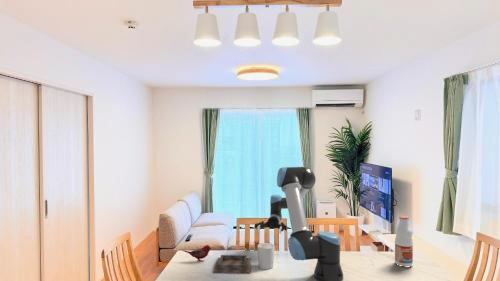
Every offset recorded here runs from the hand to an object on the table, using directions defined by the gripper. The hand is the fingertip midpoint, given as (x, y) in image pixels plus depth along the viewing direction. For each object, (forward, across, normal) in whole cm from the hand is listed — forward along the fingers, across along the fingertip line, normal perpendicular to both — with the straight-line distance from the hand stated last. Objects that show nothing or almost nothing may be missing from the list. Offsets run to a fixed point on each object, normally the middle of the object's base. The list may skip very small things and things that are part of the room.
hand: (268, 230), depth 199 cm
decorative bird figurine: (+11, +41, -18) cm, 46 cm away
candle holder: (+10, 0, -18) cm, 20 cm away
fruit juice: (-10, -78, -18) cm, 80 cm away
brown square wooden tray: (+13, +19, -18) cm, 29 cm away
